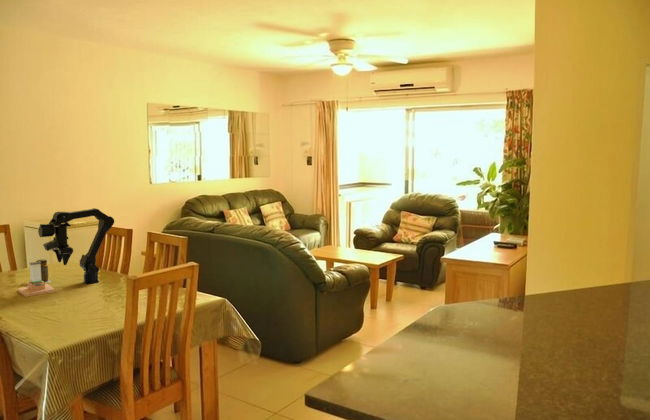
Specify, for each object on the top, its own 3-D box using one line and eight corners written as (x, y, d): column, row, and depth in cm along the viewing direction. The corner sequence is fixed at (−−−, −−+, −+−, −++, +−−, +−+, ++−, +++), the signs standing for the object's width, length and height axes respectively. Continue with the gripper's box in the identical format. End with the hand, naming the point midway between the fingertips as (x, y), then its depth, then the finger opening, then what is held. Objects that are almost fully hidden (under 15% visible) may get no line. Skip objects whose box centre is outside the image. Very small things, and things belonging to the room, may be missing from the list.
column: (40, 279, 266) (39, 261, 265) (42, 281, 263) (41, 262, 262) (29, 281, 263) (28, 262, 261) (32, 283, 259) (31, 263, 258)
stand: (47, 286, 273) (46, 277, 273) (55, 291, 263) (54, 282, 263) (18, 291, 263) (17, 281, 263) (25, 296, 253) (24, 287, 253)
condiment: (48, 279, 289) (47, 258, 287) (51, 282, 282) (50, 261, 281) (33, 280, 284) (32, 260, 283) (36, 284, 278) (35, 262, 276)
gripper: (39, 234, 270) (40, 262, 272) (49, 239, 257) (51, 269, 259) (61, 232, 278) (62, 260, 280) (73, 237, 264) (74, 266, 266)
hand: (62, 263), depth 271 cm, fingers open, 9 cm apart
